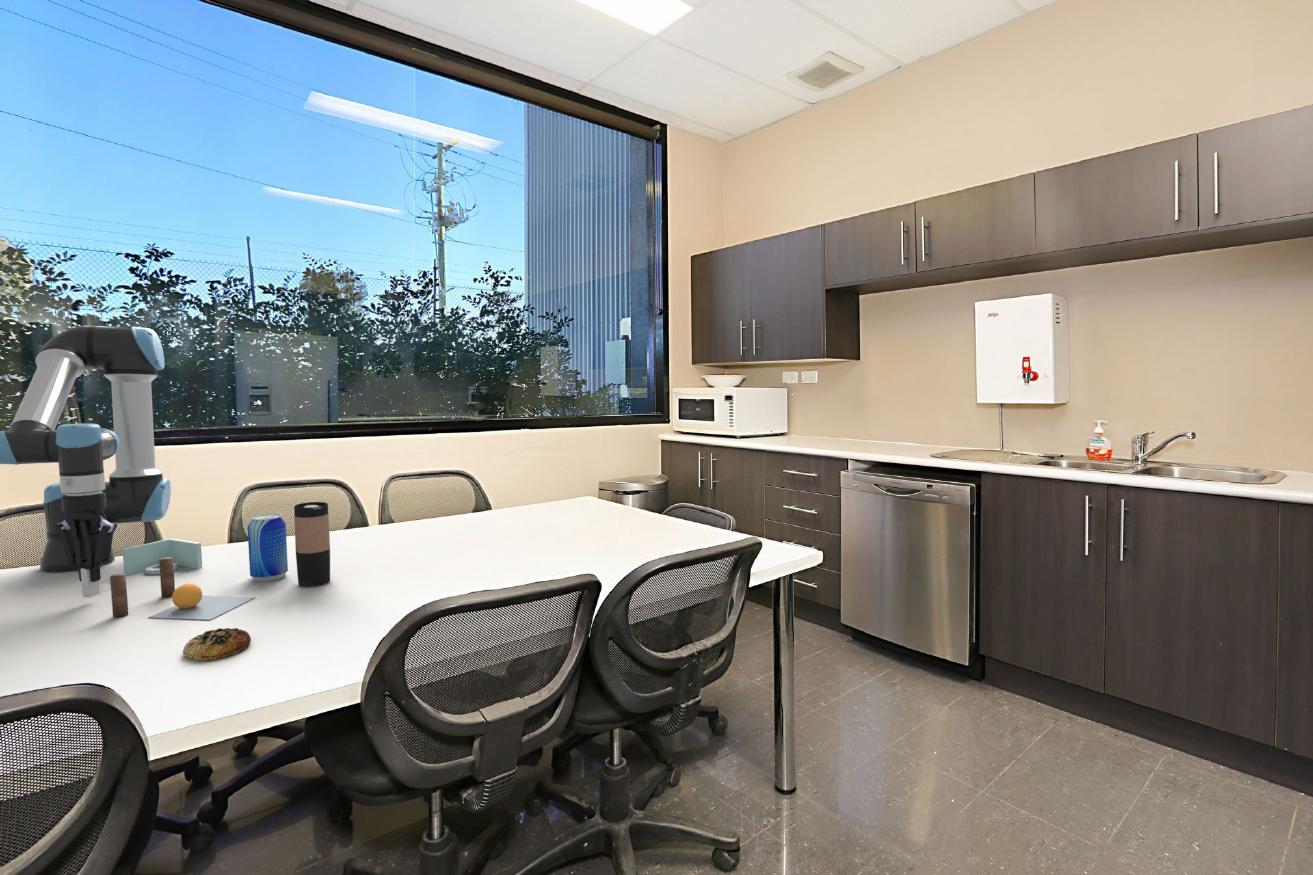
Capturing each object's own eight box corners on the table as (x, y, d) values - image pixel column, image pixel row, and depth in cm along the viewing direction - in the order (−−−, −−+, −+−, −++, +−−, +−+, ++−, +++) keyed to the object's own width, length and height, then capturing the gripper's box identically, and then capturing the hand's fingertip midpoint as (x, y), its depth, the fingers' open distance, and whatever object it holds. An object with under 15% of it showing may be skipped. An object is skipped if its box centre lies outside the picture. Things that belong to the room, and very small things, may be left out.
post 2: (158, 597, 152) (156, 560, 151) (167, 593, 154) (165, 556, 154) (169, 597, 152) (166, 560, 151) (178, 594, 154) (175, 557, 153)
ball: (188, 589, 142) (188, 613, 142) (208, 581, 147) (208, 605, 148) (165, 586, 143) (165, 610, 143) (186, 579, 148) (186, 602, 148)
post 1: (109, 617, 139) (106, 576, 138) (120, 613, 142) (117, 573, 141) (121, 617, 139) (118, 577, 138) (131, 613, 142) (128, 573, 141)
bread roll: (264, 637, 130) (259, 614, 129) (230, 669, 119) (225, 645, 118) (207, 639, 130) (203, 617, 129) (168, 672, 119) (163, 647, 118)
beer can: (270, 583, 163) (267, 520, 161) (242, 581, 164) (238, 519, 163) (295, 573, 171) (292, 513, 169) (268, 571, 173) (265, 512, 171)
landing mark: (148, 617, 139) (148, 617, 139) (198, 595, 153) (198, 595, 153) (210, 620, 138) (210, 619, 138) (255, 598, 152) (255, 597, 152)
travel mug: (305, 578, 167) (302, 501, 165) (336, 577, 168) (333, 501, 166) (291, 588, 159) (287, 508, 158) (323, 587, 160) (320, 507, 158)
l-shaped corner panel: (124, 577, 168) (122, 549, 168) (173, 564, 180) (171, 538, 179) (154, 583, 164) (152, 554, 163) (202, 570, 175) (200, 542, 174)
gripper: (39, 495, 142) (48, 599, 144) (95, 496, 141) (102, 601, 143) (72, 489, 149) (80, 588, 152) (125, 490, 148) (132, 590, 151)
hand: (91, 595), depth 148 cm, fingers closed
